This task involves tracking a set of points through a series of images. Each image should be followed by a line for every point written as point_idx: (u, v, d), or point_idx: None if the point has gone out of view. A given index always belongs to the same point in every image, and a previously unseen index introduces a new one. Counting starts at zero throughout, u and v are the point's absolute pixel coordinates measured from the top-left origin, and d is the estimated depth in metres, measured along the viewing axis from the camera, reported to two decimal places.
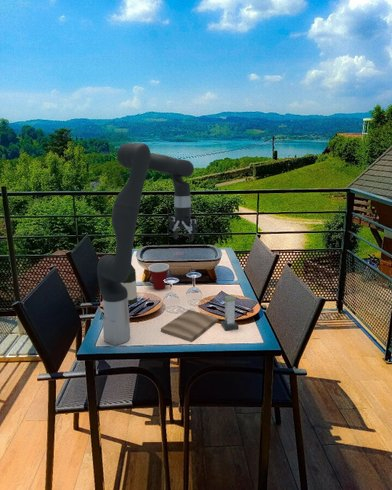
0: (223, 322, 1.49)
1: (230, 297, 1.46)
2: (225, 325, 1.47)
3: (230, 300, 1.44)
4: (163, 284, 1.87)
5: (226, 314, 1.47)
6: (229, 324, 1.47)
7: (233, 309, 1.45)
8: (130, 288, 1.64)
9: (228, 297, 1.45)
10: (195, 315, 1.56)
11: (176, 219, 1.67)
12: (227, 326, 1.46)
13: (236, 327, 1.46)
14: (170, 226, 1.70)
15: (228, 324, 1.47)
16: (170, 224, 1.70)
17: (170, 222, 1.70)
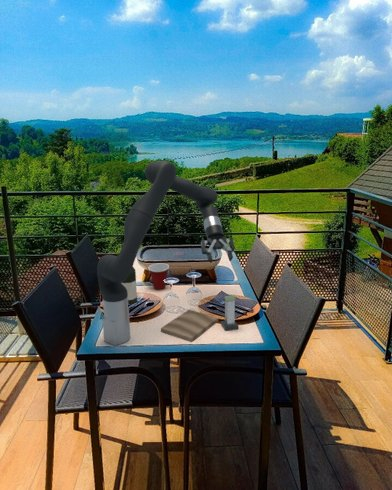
0: (223, 322, 1.49)
1: (230, 297, 1.46)
2: (225, 325, 1.47)
3: (230, 300, 1.44)
4: (163, 284, 1.87)
5: (226, 314, 1.47)
6: (229, 324, 1.47)
7: (233, 309, 1.45)
8: (130, 288, 1.65)
9: (228, 297, 1.45)
10: (195, 315, 1.56)
11: (210, 240, 1.56)
12: (227, 326, 1.46)
13: (236, 327, 1.46)
14: (204, 248, 1.54)
15: (228, 324, 1.47)
16: (203, 246, 1.54)
17: (203, 244, 1.55)
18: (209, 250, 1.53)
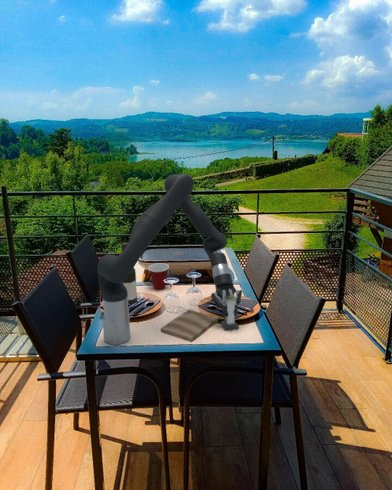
0: (223, 322, 1.49)
1: (230, 296, 1.46)
2: (225, 325, 1.47)
3: (230, 300, 1.44)
4: (163, 284, 1.87)
5: None
6: (229, 324, 1.47)
7: (233, 309, 1.45)
8: (130, 288, 1.65)
9: (228, 297, 1.45)
10: (195, 315, 1.56)
11: (219, 292, 1.48)
12: (227, 326, 1.46)
13: (236, 327, 1.46)
14: (218, 301, 1.46)
15: (228, 324, 1.47)
16: (217, 299, 1.46)
17: (215, 298, 1.47)
18: (224, 303, 1.46)
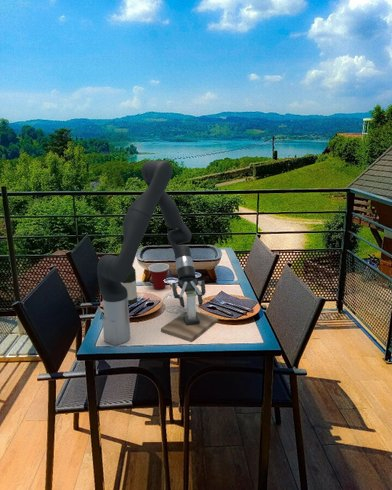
0: (185, 317, 1.51)
1: (191, 292, 1.47)
2: (186, 320, 1.48)
3: (191, 295, 1.45)
4: (163, 284, 1.87)
5: (187, 309, 1.48)
6: (190, 319, 1.48)
7: (194, 304, 1.47)
8: (130, 288, 1.65)
9: (189, 292, 1.47)
10: None
11: (181, 283, 1.50)
12: (188, 321, 1.48)
13: (197, 322, 1.48)
14: (175, 292, 1.47)
15: (189, 319, 1.48)
16: (175, 290, 1.47)
17: (174, 288, 1.48)
18: (181, 294, 1.47)
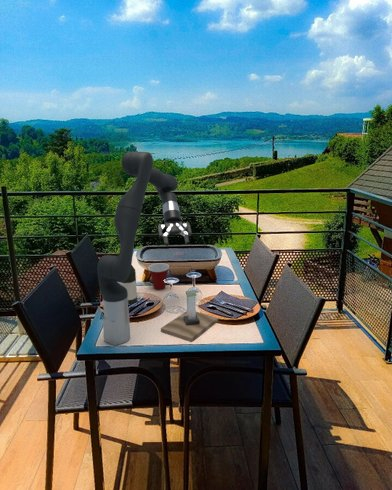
0: (185, 317, 1.51)
1: (191, 292, 1.47)
2: (186, 320, 1.48)
3: (191, 295, 1.45)
4: (163, 284, 1.87)
5: (187, 309, 1.48)
6: (190, 319, 1.48)
7: (194, 304, 1.47)
8: (130, 288, 1.65)
9: (189, 292, 1.47)
10: None
11: (167, 224, 1.60)
12: (188, 321, 1.48)
13: (197, 322, 1.48)
14: (160, 232, 1.57)
15: (189, 319, 1.48)
16: (160, 230, 1.58)
17: (160, 228, 1.58)
18: (165, 234, 1.57)
